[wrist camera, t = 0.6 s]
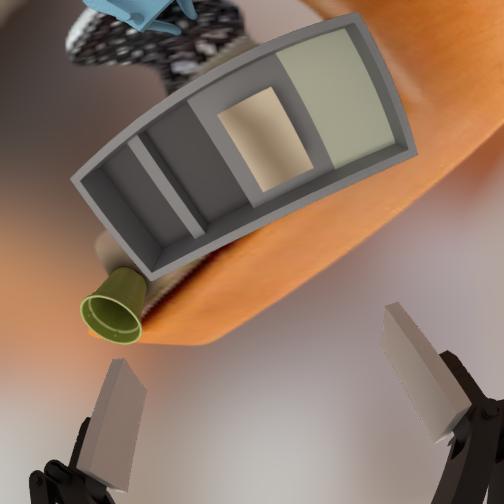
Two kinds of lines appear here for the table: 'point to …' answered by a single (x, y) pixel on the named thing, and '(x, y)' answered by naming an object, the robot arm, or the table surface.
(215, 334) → the table surface
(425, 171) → the table surface
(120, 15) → the chair
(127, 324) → the plant pot
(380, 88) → the tray
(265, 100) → the birch block
